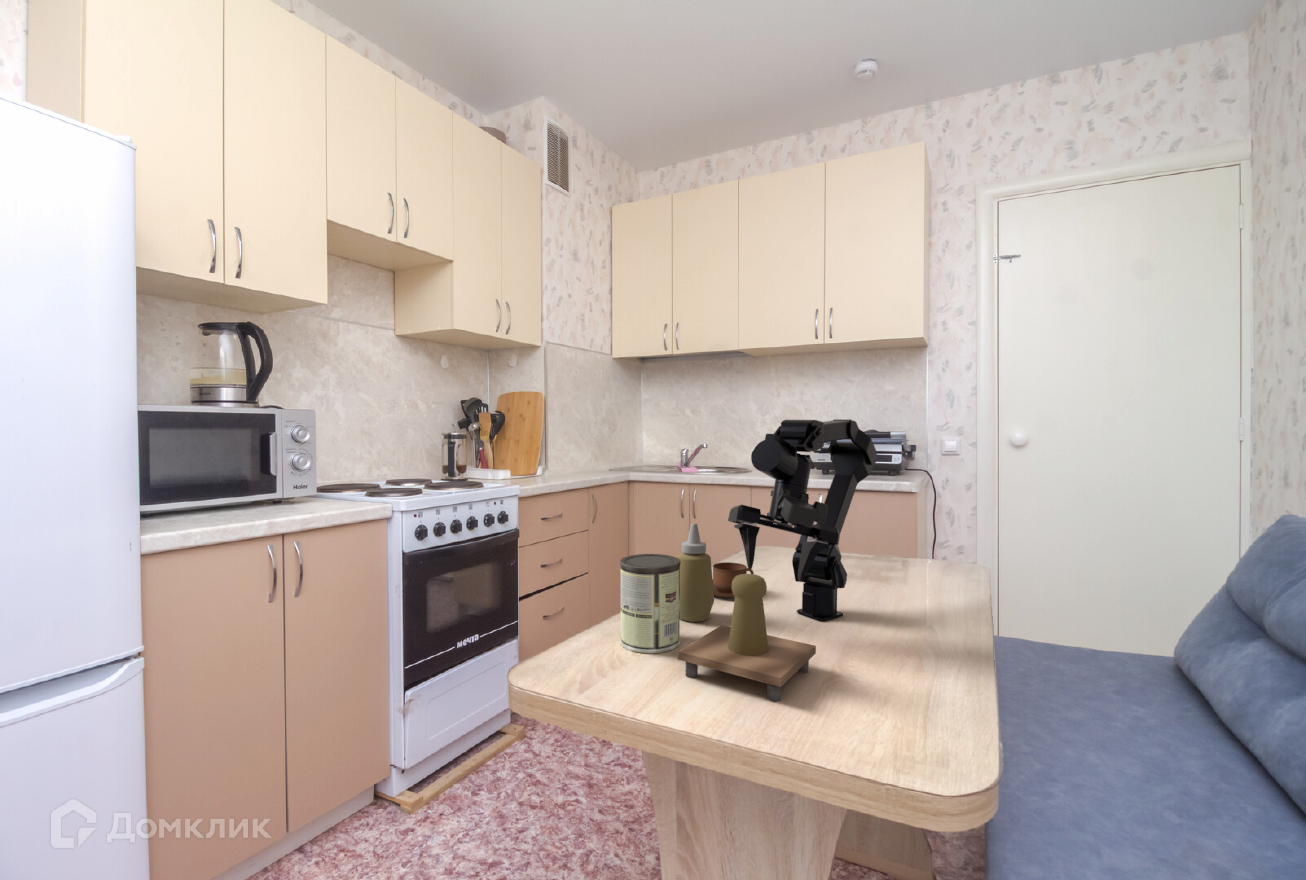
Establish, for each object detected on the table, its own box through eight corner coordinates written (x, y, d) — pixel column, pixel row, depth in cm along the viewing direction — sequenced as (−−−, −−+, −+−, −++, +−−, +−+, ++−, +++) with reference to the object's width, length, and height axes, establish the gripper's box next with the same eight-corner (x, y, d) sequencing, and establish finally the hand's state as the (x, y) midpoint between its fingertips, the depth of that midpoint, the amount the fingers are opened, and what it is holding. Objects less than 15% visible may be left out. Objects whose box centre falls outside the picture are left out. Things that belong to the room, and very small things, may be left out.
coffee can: (632, 628, 109) (632, 551, 109) (687, 635, 106) (687, 556, 106) (609, 649, 100) (610, 564, 99) (669, 657, 96) (670, 569, 96)
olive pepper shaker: (774, 645, 92) (775, 573, 91) (759, 659, 87) (761, 583, 86) (737, 638, 95) (738, 568, 94) (721, 650, 90) (722, 577, 89)
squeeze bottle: (669, 611, 119) (670, 520, 119) (709, 610, 120) (711, 520, 119) (674, 625, 111) (676, 528, 111) (718, 624, 112) (719, 528, 111)
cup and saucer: (725, 583, 141) (725, 557, 140) (768, 594, 132) (768, 566, 132) (690, 593, 132) (690, 565, 132) (734, 606, 124) (734, 576, 123)
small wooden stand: (677, 676, 89) (677, 651, 89) (721, 646, 101) (721, 625, 101) (780, 705, 80) (780, 678, 80) (815, 669, 92) (815, 645, 92)
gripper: (755, 468, 99) (737, 563, 95) (861, 495, 101) (846, 589, 98) (735, 476, 110) (718, 562, 106) (831, 500, 112) (817, 585, 108)
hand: (774, 574), depth 104 cm, fingers open, 9 cm apart
